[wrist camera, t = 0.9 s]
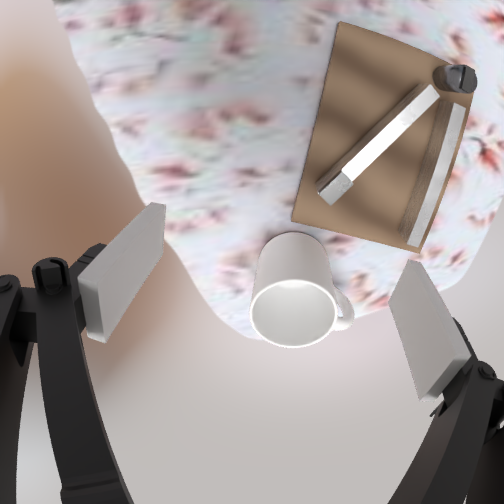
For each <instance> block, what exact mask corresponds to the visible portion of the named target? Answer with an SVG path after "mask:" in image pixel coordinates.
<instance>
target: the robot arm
mask: <svg viewBox="0 0 504 504" xmlns="http://www.w3.org/2000/svg"><path fill="white" fill-rule="evenodd" d="M165 212H166V205H163V204H158V203H153V202H151V203H150V204H149V205H148V206H147V207H146V208H145V209H144V210H143V211H142V212H141V213H140V214H139V215H137V216H136V217H135V218H134V219H133V220H132V221H131V222H130V223H129V224H128V225H127V226H126V227H125V228H124V229H123V230H122V231H121V232H120V233H119V234H118V235H117V236H116V237H115V238H114V239H113V240H112V241H111V242H110V243H109V244H108V245H105V244H101V243H99V244H97V245H95V246H92V247H90V248H89V249H88V250H87V251H86V252H85V253H84V254H83V256H81V257H80V258H79V259H78V260H77V261H76V262H75V263H74V264H73V265H72V266H71V267H70V268H69V269H68V264H67V262H66V261H64V260H63V259H61V258H57V257H51V258H46V259H43V260H40V261H39V262H37V263H36V264H35V265H34V266H33V268H32V275H33V279H34V283H35V288H27V287H21V285H20V281H19V279H18V278H17V277H16V276H14V275H2V276H0V504H16V470H17V452H18V439H19V429H20V420H21V412H22V404H23V398H24V391H25V385H26V380H27V374H28V369H29V364H30V359H31V355H32V350H33V346H34V343H38V356H39V368H40V377H41V386H42V392H43V400H44V407H45V413H46V418H47V424H48V429H49V434H50V438H51V444H52V448H53V452H54V456H55V460H56V464H57V468H58V472H59V476H60V479H61V483H62V489H61V492H60V495H61V501H62V504H134V502H133V500H132V498H131V496H130V493H129V491H128V489H127V486H126V484H125V482H124V479H123V477H122V474H121V472H120V469H119V467H118V464H117V461H116V459H115V456H114V453H113V451H112V448H111V445H110V442H109V439H108V436H107V433H106V430H105V427H104V424H103V421H102V417H101V414H100V411H99V407H98V404H97V401H96V397H95V394H94V390H93V386H92V382H91V378H90V374H89V370H88V366H87V362H86V357H85V352H84V347H83V343H82V338H81V332H82V331H83V329H84V328H85V327H86V330H87V334H88V337H89V338H92V339H95V340H98V341H101V342H103V343H106V342H107V340H108V338H109V337H110V335H111V333H112V332H113V330H114V329H115V327H116V325H117V324H118V322H119V320H120V319H121V317H122V316H123V314H124V313H125V311H126V309H127V308H128V306H129V305H130V303H131V302H132V300H133V299H134V297H135V295H136V294H137V292H138V291H139V289H140V288H141V286H142V285H143V283H144V282H145V280H146V279H147V277H148V276H149V274H150V273H151V271H152V270H153V268H154V267H155V265H156V264H157V262H158V261H159V259H160V258H161V256H162V255H163V242H164V226H165ZM388 304H389V306H390V309H391V312H392V314H393V318H394V320H395V323H396V326H397V329H398V332H399V335H400V338H401V341H402V344H403V347H404V350H405V353H406V357H407V360H408V363H409V366H410V370H411V373H412V376H413V380H414V383H415V387H416V390H417V394H418V398H419V401H428V402H434V401H435V400H436V399H437V398H438V396H439V395H440V394H441V393H443V396H444V400H443V401H442V402H441V404H440V405H439V406H438V407H437V408H436V409H435V410H434V411H433V412H432V413H431V415H430V417H432V416H433V415H434V414H435V416H434V418H433V421H432V423H431V425H430V427H429V429H428V432H427V434H426V436H425V438H424V440H423V442H422V444H421V446H420V448H419V450H418V452H417V454H416V456H415V458H414V460H413V461H412V463H411V465H410V467H409V469H408V471H407V472H406V474H405V476H404V478H403V479H402V481H401V483H400V484H399V486H398V488H397V489H396V491H395V493H394V494H393V496H392V498H391V499H390V501H389V503H388V504H463V503H464V500H465V498H466V495H467V498H466V504H504V426H503V427H502V428H501V429H500V423H501V422H502V421H503V420H504V381H503V380H500V379H498V378H497V376H496V374H495V371H494V370H493V368H492V367H491V366H490V365H488V364H487V363H485V362H483V361H478V359H477V357H476V354H475V352H474V350H473V348H472V346H471V344H470V342H469V341H468V338H467V337H466V335H465V333H464V331H463V329H462V327H461V325H460V324H459V323H458V322H457V321H456V320H455V319H454V318H453V317H452V316H451V314H450V313H449V311H448V309H447V307H446V305H445V303H444V302H443V300H442V298H441V296H440V295H439V293H438V291H437V289H436V287H435V286H434V284H433V282H432V281H431V279H430V277H429V275H428V274H427V272H426V270H425V269H424V267H423V266H422V264H421V262H417V261H413V260H409V259H408V262H407V264H406V266H405V268H404V270H403V273H402V275H401V277H400V279H399V281H398V283H397V285H396V287H395V289H394V291H393V293H392V296H391V298H390V300H389V302H388Z"/></svg>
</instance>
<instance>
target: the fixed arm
mask: <svg viewBox="0 0 504 504" xmlns="http://www.w3.org/2000/svg"><path fill="white" fill-rule="evenodd" d="M432 79H433V82H434V84H435V86H436V87H437V88H438V89H439V90H441V91H446V92H456V93H465V94H470V93H472V92H474V91H475V89H476V87H477V77H476V74H475V70H474V69H472V68H470V67H469V66H467V65H448V66H438V67H436V68H435V69H434V71H433V74H432ZM465 110H466V108H464V107H462V106H460V105H458V104H456V103H454V102H448V101H441V100H440V102H439V106H438V110H437V114H436V117H435V121H434V125H433V128H432V132H431V135H430V139H429V142H428V146H427V149H426V152H425V155H424V159H423V162H422V165H421V168H420V171H419V174H418V177H417V180H416V183H415V186H414V189H413V192H412V194H411V197H410V200H409V203H408V206H407V208H406V211H405V214H404V216H403V219H402V222H401V224H400V227H399V229H398V232H399V233H400V235H401V236H402V238H403V239H404V241H405V242H406V244H408V245H411V246H415V247H419V245H420V242H421V240H422V238H423V235H424V233H425V230H426V228H427V226H428V223H429V221H430V218H431V216H432V213H433V210H434V208H435V205H436V203H437V200H438V197H439V194H440V192H441V189H442V186H443V183H444V180H445V178H446V175H447V172H448V169H449V166H450V163H451V159H452V156H453V153H454V150H455V147H456V143H457V140H458V136H459V133H460V129H461V126H462V122H463V118H464V114H465Z"/></svg>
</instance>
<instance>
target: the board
mask: <svg viewBox="0 0 504 504" xmlns="http://www.w3.org/2000/svg"><path fill="white" fill-rule="evenodd" d="M448 65H452V64H450V63H448V62H446V61H444V60H441V59H439V58H437V57H435V56H433V55H431V54H429V53H426V52H424V51H422V50H420V49H417V48H415V47H413V46H410V45H408V44H405V43H403V42H400V41H398V40H395V39H393V38H390V37H387V36H384V35H382V34H379V33H376V32H373V31H370V30H367V29H364V28H361V27H358V26H355V25H351V24H348V23H345V22H341V21H340V22H339V23H338V27H337V31H336V36H335V40H334V45H333V49H332V54H331V58H330V63H329V67H328V71H327V76H326V80H325V84H324V89H323V93H322V97H321V101H320V106H319V110H318V114H317V118H316V122H315V126H314V130H313V134H312V138H311V142H310V146H309V150H308V154H307V158H306V162H305V166H304V170H303V174H302V178H301V182H300V186H299V190H298V193H297V197H296V201H295V205H294V209H293V213H292V216H291V221H292V222H296V223H300V224H305V225H309V226H313V227H317V228H321V229H325V230H330V231H334V232H338V233H342V234H346V235H350V236H354V237H358V238H362V239H366V240H370V241H374V242H377V243H381V244H385V245H389V246H393V247H397V248H400V249H404V250H408V251H411V252H415V253H419V254H420V251H421V249H422V247H423V245H424V242H425V240H426V238H427V235H428V233H429V231H430V228H431V226H432V223H433V221H434V218H435V216H436V213H437V211H438V208H439V205H440V203H441V200H442V197H443V195H444V192H445V189H446V186H447V184H448V181H449V178H450V175H451V172H452V169H453V166H454V163H455V160H456V157H457V153H458V150H459V147H460V144H461V140H462V137H463V133H464V130H465V126H466V122H467V119H468V115H469V111H470V107H471V103H472V98H473V94H474V92H472V93H470V94H465V93H456V92H446V91H441V90H439V89H438V88H437V87H436V86H435V84H434V82H433V79H432V74H433V71H434V69H435V68H436V67H438V66H448ZM418 84H431V85H432V87H433V88H434V89H435V90H436V92H437V93H438V94H439V95H440V97H439V98H438V99H437V100H436V101H435V102H434V103H433V104H432V105H431V106H430V107H429V108H428V109H427V110H426V111H425V112H424V113H423V114H422V115H420V116H419V117H418V118H417V119H416V120H415V121H414V122H413V123H412V124H411V125H410V126H409V127H408V128H407V129H406V130H405V131H404V132H403V133H402V134H401V135H400V136H399V137H398V138H397V139H396V140H395V141H394V142H393V143H392V144H391V145H389V146H388V147H387V148H386V149H385V150H384V151H383V152H382V153H381V154H380V155H379V156H378V157H377V158H376V159H375V160H374V161H373V162H372V163H371V164H370V165H369V166H368V167H366V168H365V169H364V170H363V171H362V172H361V173H360V174H359V175H358V176H357V177H356V178H355V179H354V180H353V181H352V182H353V183H354V184H353V185H352V186H351V187H350V188H349V189H348V190H347V191H346V192H345V193H344V194H343V195H342V196H341V197H340V198H339V199H338V200H336V201H335V202H334V203H333V204H332V205H331V206H330V205H329V204H328V203H327V202H326V201H325V200H324V199H323V198H322V197H321V196H320V195H319V194H318V192H317V189H316V185H315V183H316V182H317V181H319V180H320V179H321V178H322V177H323V176H324V175H325V174H326V173H327V172H328V171H329V170H330V169H331V168H332V167H333V166H334V165H335V164H336V163H337V162H338V161H339V160H340V159H341V158H342V157H343V156H344V155H345V154H346V153H347V152H348V151H349V150H350V149H352V148H353V147H354V146H355V145H356V144H357V143H358V142H359V141H360V140H361V139H362V138H363V137H364V136H365V135H366V134H367V133H368V132H369V131H370V130H371V129H372V128H373V127H374V126H375V125H376V124H377V123H378V122H379V121H380V120H381V119H383V118H384V117H385V116H386V115H387V114H388V113H389V112H390V111H391V110H392V109H393V108H394V107H395V106H396V105H397V104H398V103H399V102H400V101H401V100H402V99H403V98H404V97H405V96H406V95H407V94H408V93H410V92H411V91H412V90H413V89H414V88H415V87H416V86H417V85H418ZM440 100H441V101H448V102H454V103H456V104H458V105H460V106H462V107H464V108H466V110H465V114H464V118H463V122H462V126H461V129H460V133H459V136H458V140H457V143H456V147H455V150H454V153H453V156H452V159H451V163H450V166H449V169H448V172H447V175H446V178H445V180H444V183H443V186H442V189H441V192H440V194H439V197H438V200H437V203H436V205H435V208H434V210H433V213H432V216H431V218H430V221H429V223H428V226H427V228H426V230H425V233H424V235H423V238H422V240H421V242H420V245H419V247H415V246H411V245H408V244H406V242H405V241H404V239H403V238H402V236H401V235H400V233H399V232H398V229H399V227H400V224H401V222H402V219H403V216H404V214H405V211H406V208H407V206H408V203H409V200H410V197H411V194H412V192H413V189H414V186H415V183H416V180H417V177H418V174H419V171H420V168H421V165H422V162H423V159H424V155H425V152H426V149H427V146H428V142H429V139H430V135H431V132H432V128H433V125H434V121H435V117H436V114H437V110H438V106H439V102H440Z"/></svg>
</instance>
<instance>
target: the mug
mask: <svg viewBox="0 0 504 504" xmlns="http://www.w3.org/2000/svg"><path fill="white" fill-rule="evenodd" d="M337 304H338V305H339V307H340V308H341V310H342V313H343V317H338V308H337ZM249 318H250V322H251V325H252V327H253V328H254V330H255V331H256V333H257V334H258V335H259V336H260V337H262V338H263V339H264V340H266V341H267V342H269V343H271V344H274V345H277V346H281V347H286V348H299V347H305V346H309V345H312V344H314V343H317V342H318V341H320V340H322V339H323V338H325V337H326V336H327V335H328V334H329V333H330V332H331V331H332V330H337V331H341V330H345V329H347V328H349V327H350V326H351V325H352V324H353V321H354V310H353V307H352V305H351V303H350V301H349V300H348V298H347V297H346V296H345V295H344V294H343V293H342V292H341V291H340V290H339V289H338V288H336V287H335V286H333V280H332V275H331V270H330V264H329V260H328V256H327V253H326V251H325V249H324V248H323V246H322V245H321V244H320V243H319V242H318V241H317V240H316V239H314V238H313V237H311V236H309V235H306V234H303V233H297V232H290V233H284V234H281V235H278V236H276V237H274V238H273V239H271V240H270V241H269V242H268V243H267V244H266V245H265V246H264V248H263V249H262V251H261V254H260V256H259V260H258V265H257V270H256V276H255V282H254V287H253V293H252V298H251V304H250V309H249Z"/></svg>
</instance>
